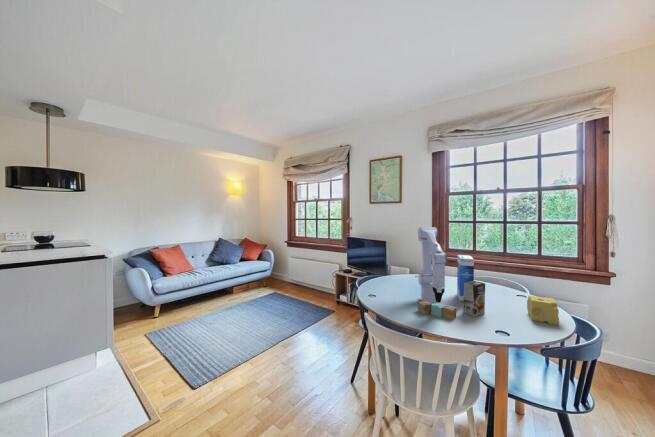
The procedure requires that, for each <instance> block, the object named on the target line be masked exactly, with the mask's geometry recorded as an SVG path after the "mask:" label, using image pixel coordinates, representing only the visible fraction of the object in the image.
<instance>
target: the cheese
mask: <svg viewBox="0 0 655 437" xmlns="http://www.w3.org/2000/svg"><path fill="white" fill-rule="evenodd" d="M526 308H527V313H528V316H529V318H530V320H531V321H535V322H541V323H544V322H545V323H548V324H550V325H556V326H559V324H560V317H559V313H560V312H559V306H558V303H557V301H556V300H555V298H553V297H545V296H543V297H542V296H536V295H530V294H529V295H528V297H527V300H526Z"/></svg>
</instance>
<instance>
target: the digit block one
mask: <svg viewBox="0 0 655 437" xmlns="http://www.w3.org/2000/svg"><path fill="white" fill-rule="evenodd" d="M431 305H433V304H432V303H429V302H427V301H421V300H420V301H417V312H419V313H420V314H422V315H431Z"/></svg>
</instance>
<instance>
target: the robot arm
mask: <svg viewBox="0 0 655 437" xmlns="http://www.w3.org/2000/svg"><path fill="white" fill-rule="evenodd" d="M437 235H438V229H437V227H436V226H432V227H430V226H427V227H426V226H422V227H421V226H419V227H418V229H417V236H418V238H417V239H418V241H419V242H420V243H421V248H422V249H421V250H422V251H421V252H422V269H421V270H420V271H419V272H418V278H417V279H418V284H419V286H420V288H421V289H420V297H417V300H419V301H420V302H421V301H427V302H429V303H431V304H432V303H433V304H434V303H438V304H441V302H442V299H443V295H444V293H445V287H446V283H445V282H446V278H445V277H446V265H447V263H448V255H447V253H446V252H445V251H443V249H442V246H441V245H440V243H438V242H437V239H436V238H437Z"/></svg>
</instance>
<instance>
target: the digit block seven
mask: <svg viewBox="0 0 655 437" xmlns="http://www.w3.org/2000/svg"><path fill="white" fill-rule="evenodd" d="M444 305H445V306H444V307H443V314H442V317H441V318H445V319H448V320H452V321H454V320H455V319H456V318H457V307H456V306H453V305H452V306H451V305H449V304H444Z"/></svg>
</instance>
